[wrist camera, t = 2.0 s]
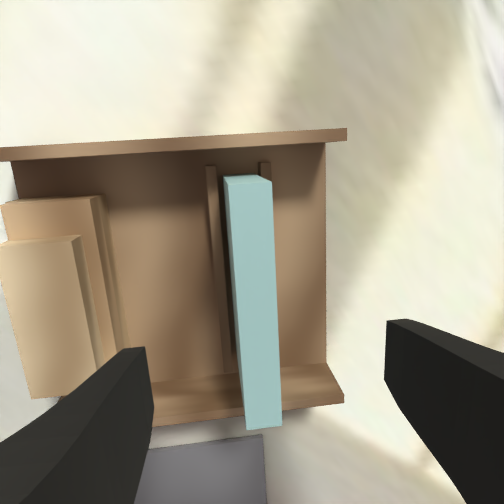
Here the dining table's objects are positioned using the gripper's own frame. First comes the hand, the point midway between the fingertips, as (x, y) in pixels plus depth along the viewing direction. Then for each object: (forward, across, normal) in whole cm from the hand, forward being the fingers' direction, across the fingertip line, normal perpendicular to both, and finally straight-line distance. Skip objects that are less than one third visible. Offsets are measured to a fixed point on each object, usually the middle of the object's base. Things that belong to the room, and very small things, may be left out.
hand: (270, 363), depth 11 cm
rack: (+10, +3, 0) cm, 10 cm away
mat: (+10, +6, +14) cm, 18 cm away
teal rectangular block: (+9, 0, 0) cm, 9 cm away
